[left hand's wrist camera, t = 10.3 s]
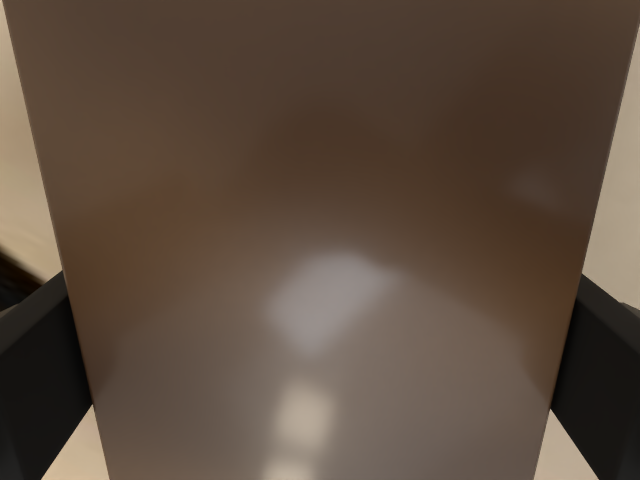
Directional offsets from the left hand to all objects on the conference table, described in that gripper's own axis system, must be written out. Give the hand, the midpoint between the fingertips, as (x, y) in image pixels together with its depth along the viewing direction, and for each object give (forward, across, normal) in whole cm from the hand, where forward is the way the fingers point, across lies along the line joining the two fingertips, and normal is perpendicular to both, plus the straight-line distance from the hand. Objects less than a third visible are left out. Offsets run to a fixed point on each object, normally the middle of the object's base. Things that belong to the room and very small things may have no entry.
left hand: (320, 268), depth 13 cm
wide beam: (+2, 0, -31) cm, 31 cm away
